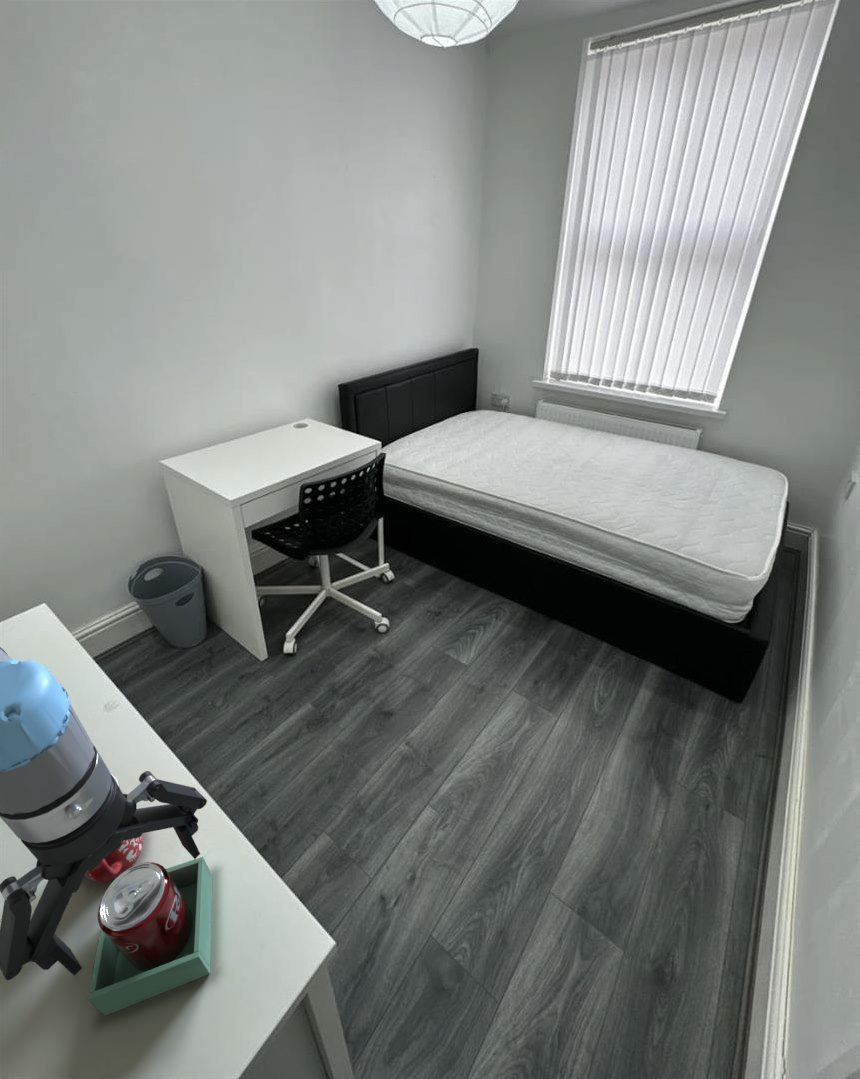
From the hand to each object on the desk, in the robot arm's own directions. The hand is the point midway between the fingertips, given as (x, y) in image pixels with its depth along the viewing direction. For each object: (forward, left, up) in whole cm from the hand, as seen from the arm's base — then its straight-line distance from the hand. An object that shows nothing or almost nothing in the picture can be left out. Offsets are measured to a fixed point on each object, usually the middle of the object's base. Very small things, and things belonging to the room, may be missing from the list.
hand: (137, 901), depth 55 cm
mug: (-11, -7, -11) cm, 17 cm away
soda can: (0, 0, -10) cm, 10 cm away
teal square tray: (0, 0, -11) cm, 11 cm away
